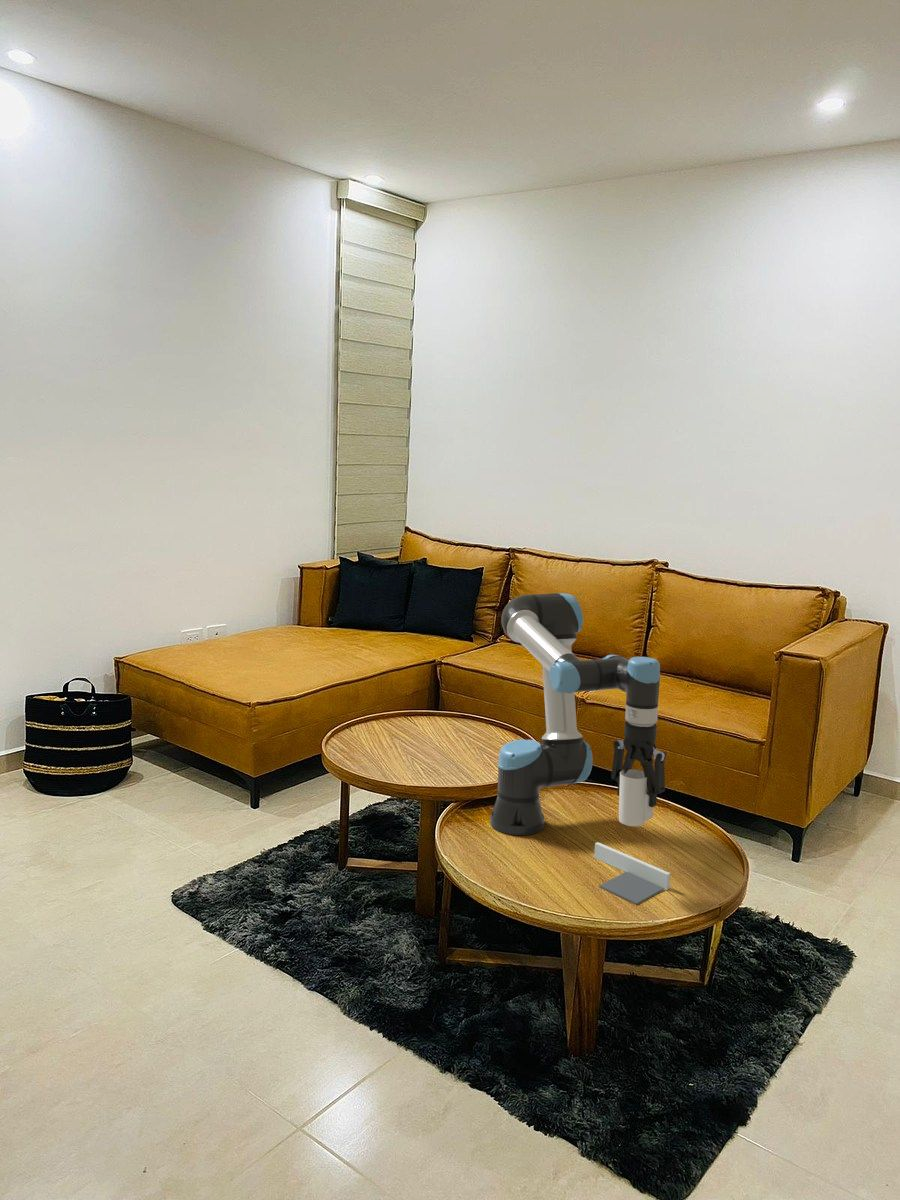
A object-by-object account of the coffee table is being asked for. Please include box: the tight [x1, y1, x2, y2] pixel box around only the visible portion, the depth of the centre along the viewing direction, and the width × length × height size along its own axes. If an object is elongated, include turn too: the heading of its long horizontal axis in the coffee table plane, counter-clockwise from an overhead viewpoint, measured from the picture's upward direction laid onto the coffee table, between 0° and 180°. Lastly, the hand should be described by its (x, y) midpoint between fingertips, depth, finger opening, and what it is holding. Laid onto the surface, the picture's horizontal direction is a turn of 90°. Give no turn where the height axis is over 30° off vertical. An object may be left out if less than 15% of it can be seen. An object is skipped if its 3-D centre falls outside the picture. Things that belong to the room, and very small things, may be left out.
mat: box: [598, 871, 665, 906], centre depth 216 cm, size 11×11×1 cm
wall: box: [593, 841, 671, 891], centre depth 224 cm, size 22×1×4 cm, turn 43°
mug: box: [618, 768, 648, 827], centre depth 216 cm, size 10×7×12 cm, turn 138°
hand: (635, 813), depth 217 cm, fingers closed on mug, 6 cm apart
